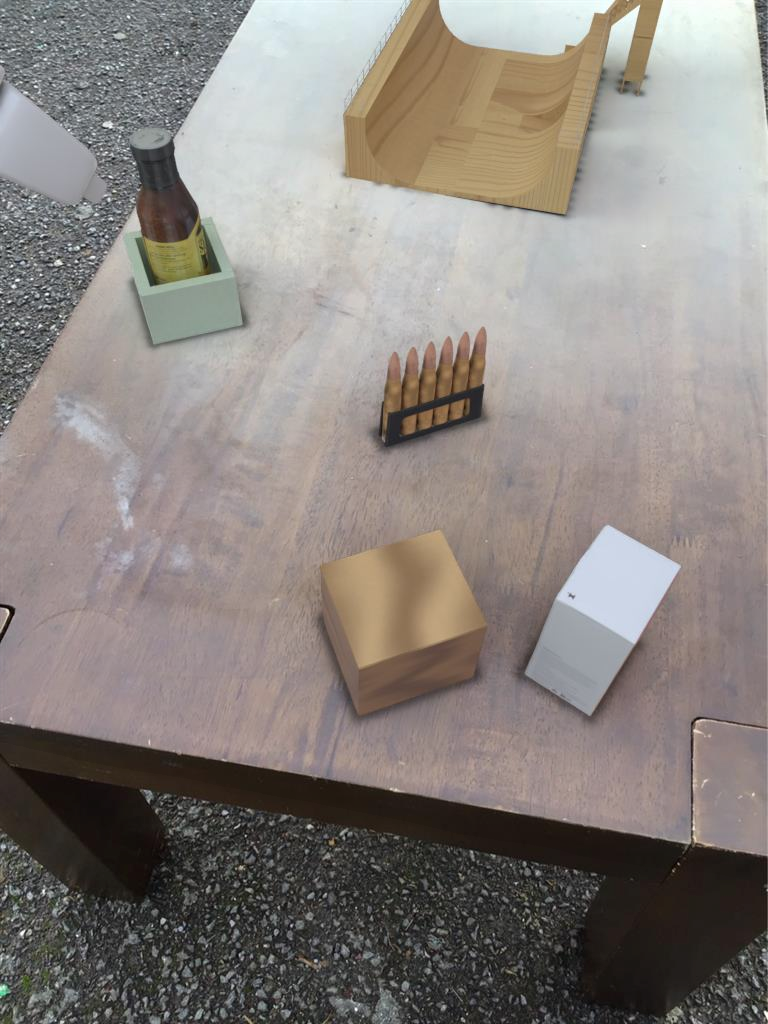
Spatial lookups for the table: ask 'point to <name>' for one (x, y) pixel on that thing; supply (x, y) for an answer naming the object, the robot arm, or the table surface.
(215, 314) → the holder
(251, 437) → the table surface
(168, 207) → the sauce bottle
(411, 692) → the wooden stand
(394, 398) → the ammunition clip
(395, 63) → the skate ramp
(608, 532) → the small box
